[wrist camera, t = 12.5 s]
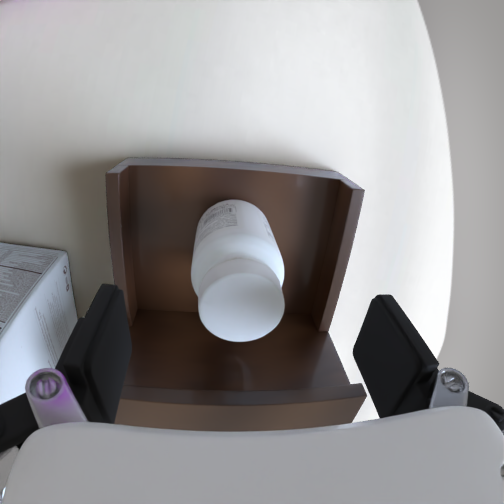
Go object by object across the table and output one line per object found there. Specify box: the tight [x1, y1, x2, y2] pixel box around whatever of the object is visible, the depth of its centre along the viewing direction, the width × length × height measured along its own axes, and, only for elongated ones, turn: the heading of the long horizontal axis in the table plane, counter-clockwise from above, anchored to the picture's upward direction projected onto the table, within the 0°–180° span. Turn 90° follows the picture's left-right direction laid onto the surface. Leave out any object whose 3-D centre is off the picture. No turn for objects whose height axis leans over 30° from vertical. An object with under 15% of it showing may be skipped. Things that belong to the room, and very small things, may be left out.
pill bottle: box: [191, 200, 285, 342], centre depth 16 cm, size 4×4×8 cm
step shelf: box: [106, 158, 367, 432], centre depth 18 cm, size 14×16×11 cm
